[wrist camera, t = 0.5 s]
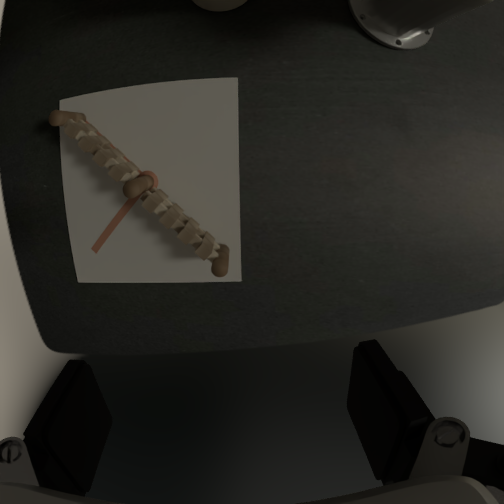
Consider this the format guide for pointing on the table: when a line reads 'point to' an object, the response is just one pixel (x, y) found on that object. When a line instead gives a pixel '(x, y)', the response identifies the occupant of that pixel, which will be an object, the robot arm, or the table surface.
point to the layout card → (155, 180)
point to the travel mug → (219, 4)
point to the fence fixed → (102, 152)
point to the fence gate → (187, 230)
